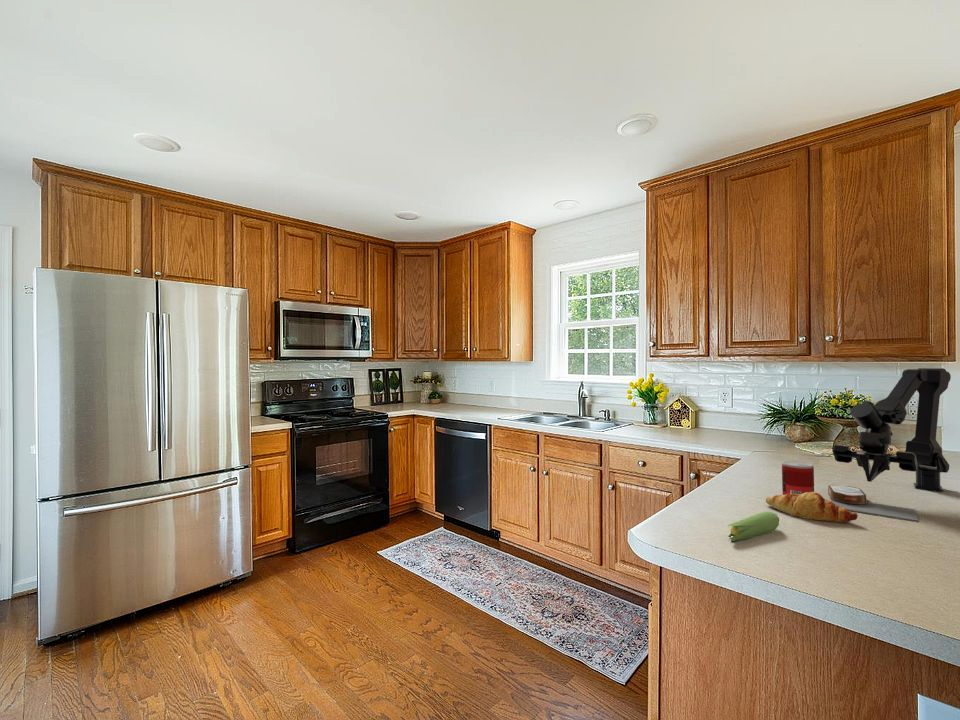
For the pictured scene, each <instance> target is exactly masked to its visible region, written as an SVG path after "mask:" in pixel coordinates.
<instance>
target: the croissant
mask: <svg viewBox="0 0 960 720" xmlns="http://www.w3.org/2000/svg"><path fill="white" fill-rule="evenodd" d="M765 503H766V504H767V505H768V506H770V507H772V508H774V509H775V510H778V511H780V512H783V513H785V514H788V515H790V514H791V516H793V515H794V517H798V516H799V517H798V518H803V517H805V518H804V519H807V518H809V519H808V520H812V519H814V521H825V520H826V521H825V522H832V523H848V522H852V521H856V520H857V519H858V517H859V516H858V515H859V514H858V512H852V511H848V510H847V509H846V508H844V507H841V506H837V505H835V504H834V503H833V502H832V500H828V499H826V498H825V497H824V496H822V495H821V494H820V493H818V492H815V491H814V492H809V493H808V492H806V493H803V494H802V495H801V494H791V493H789V494H786V495H783V494H780V495H779V494H776V495H773V496H767V497H765Z"/></svg>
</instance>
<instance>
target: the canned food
mask: <svg viewBox="0 0 960 720" xmlns="http://www.w3.org/2000/svg"><path fill="white" fill-rule="evenodd" d="M781 482H782V483H781V484H782V485H781V486H782V488H781V490H782V495H786V494H789V493H791V494H801V495H802V494H803V493H806V492H808V493H809V492H815V469H814V464H812V463H810V462H804V461H797V460H796V461H795V460H783V461H782V462H781Z"/></svg>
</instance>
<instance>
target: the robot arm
mask: <svg viewBox="0 0 960 720" xmlns="http://www.w3.org/2000/svg"><path fill="white" fill-rule="evenodd" d="M901 374H902V375H901V377H900V379H899V380H898V381H897V383H896V384H895V386H894V387H893V388H892V390H891V391H890V392H889V394H888V396H887V397H886V398H882V399H881V400H877V402H876V403H875V404H874V403H873V402H872V401H870V400H863V401H862V403H858V404H855V405H854V406H853V407H851V408H850V411H849V412H850V415H851V416H852V418H853V419H854V420H855V421H856V423H857V424H858V426H860V428H863V429H865V431H860V432H859V434H858V435H859V437H858V443H859V446H858V447H859V449H856V451H854V450H851V446H850V445H844V444H843V445H841V444H835V445H833V446H832V450H831V452H832V454H833V457H834V459H835V460H834V461H836V462H839V463H846V464H849V463H852V462H853V459H855V460H856V462H857V463H856V464H857V466H858V467H861V468H862V469H863V471H864V474H865V477H866V478H865V479H866V481H867V482H869V483H871V482H873V481H874V479H876V478H877V477H878V476H879V475H880V474H882V473H883V472H885V471H890V469H891V466H890V464H891V463H894V464H896V463H897V464H898V468H899V469H900V470H901V471H908V472H914V473H915V482H913V486H914V489H920V490H926V491H927V490H929V491H937V492H944V489H943V487H942V486H941V473H946V474H947V473H948V472H949V470H950V464H949V463H948V461H947V460H946V458H945V456H944V455H943V448H942V447H941V445H940V444H939V442H938V440H937V431H938V430H937V429H938V428H937V427H938V419H939V417H938V416H939V409H940V398H941V395H942V394H944V392H945V391H946V390H947V389H948V388H949V384H950V381H951V377H952V376H951V373H950V372H949V371H947V370H946V369H945V368H941V367H940V368H939V367H935V368H934V367H928V368H927V367H921V368H920V367H919V368H917V369H916V368H908V369H904V370H903V371H902V373H901ZM916 392H917V393H918V399H917V401H918V402H917V410H916V411H917V413H916V420H915V421H916V423H915V432H914V437H913V438H912V439H911V440H907V441H906V442H905V451H900V450H897V451H896V453H895V455H894V454H888V451H889V449H888V448H889V445H891V444H892V436H893V431H892V428H891V426H890V425H901V424H902V423H904V421H905V419H906V417H907V414H908V411H907V409H906V406H907V405H908V403H909V402H910V401H911V398H912V397H913V396H914V395H915V393H916ZM870 461H873V462H872V465H871V463H870Z"/></svg>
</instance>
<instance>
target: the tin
mask: <svg viewBox="0 0 960 720" xmlns="http://www.w3.org/2000/svg"><path fill="white" fill-rule="evenodd" d="M827 494H828V496H829V498H830V500H831V501H832V500H835V501H839V502H843V503H850V504H867V502H868V501H867V494H866V493H865V492H864V491H863V490H862V489H861V488H858V487H856V486H855V487H854V486H846V485H838V484H830V485H828V487H827Z"/></svg>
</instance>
